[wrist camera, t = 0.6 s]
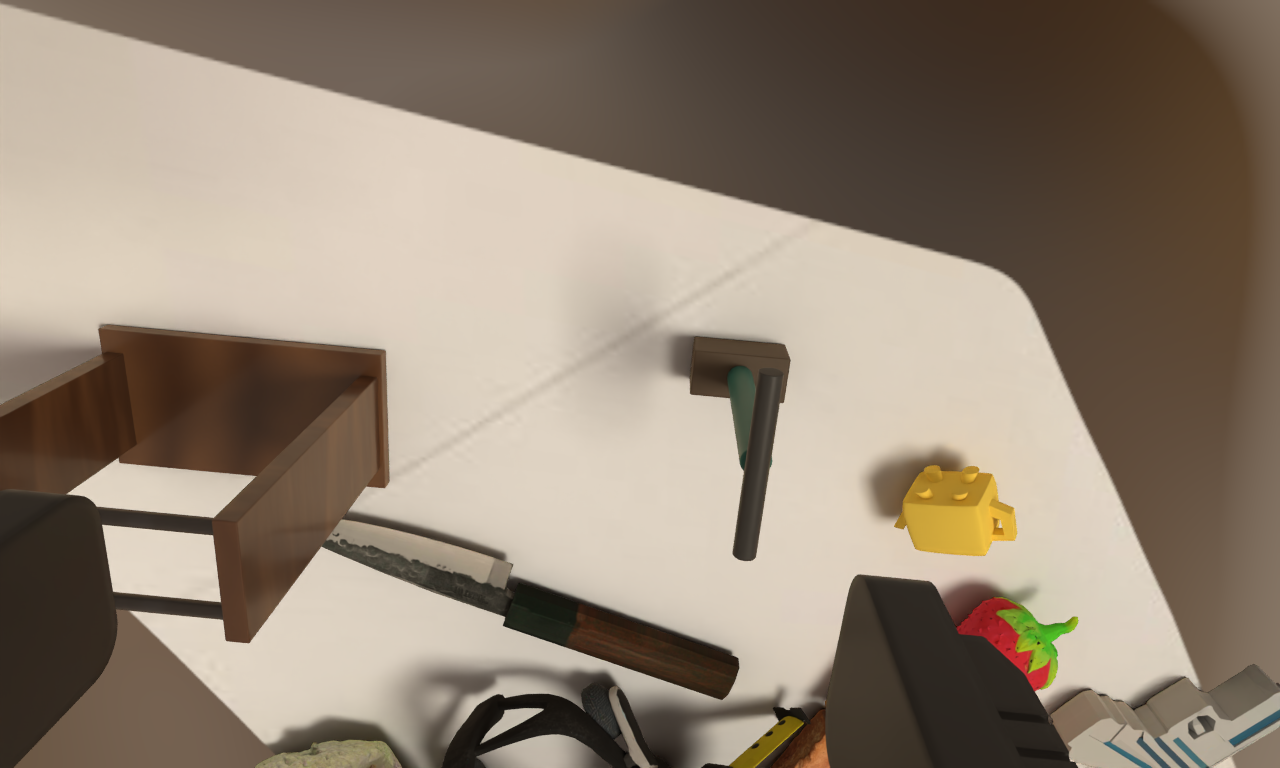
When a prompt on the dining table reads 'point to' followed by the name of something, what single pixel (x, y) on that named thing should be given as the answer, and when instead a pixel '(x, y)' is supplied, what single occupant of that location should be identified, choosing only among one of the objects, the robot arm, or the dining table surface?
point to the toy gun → (1171, 724)
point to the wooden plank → (807, 747)
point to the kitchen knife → (534, 607)
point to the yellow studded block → (956, 512)
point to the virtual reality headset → (557, 727)
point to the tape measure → (769, 739)
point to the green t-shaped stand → (745, 415)
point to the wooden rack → (214, 448)
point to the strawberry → (1019, 637)
